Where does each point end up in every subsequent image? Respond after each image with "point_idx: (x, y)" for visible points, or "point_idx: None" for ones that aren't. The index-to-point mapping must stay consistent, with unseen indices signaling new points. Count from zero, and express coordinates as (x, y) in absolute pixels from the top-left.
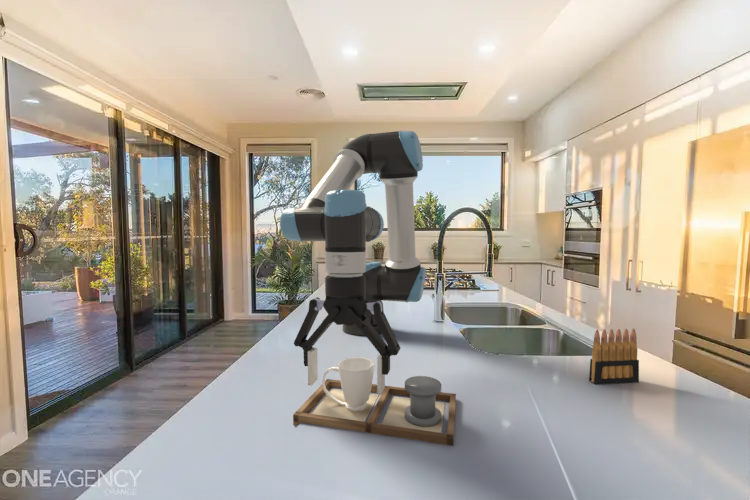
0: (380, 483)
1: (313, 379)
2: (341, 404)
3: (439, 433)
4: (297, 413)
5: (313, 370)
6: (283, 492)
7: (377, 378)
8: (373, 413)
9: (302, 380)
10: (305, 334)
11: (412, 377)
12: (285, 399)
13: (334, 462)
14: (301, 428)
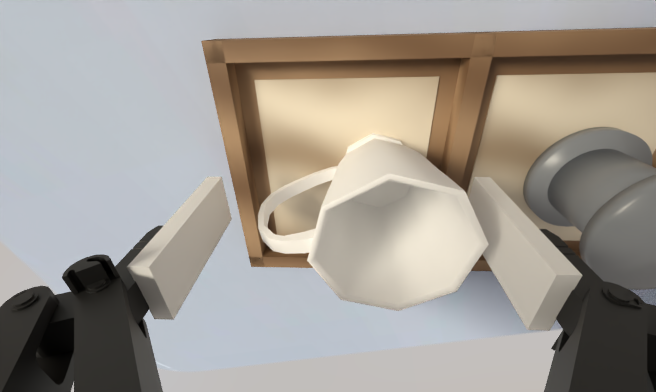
0: (459, 330)
1: (223, 215)
2: (332, 177)
3: None
4: (257, 261)
5: (209, 234)
6: (337, 354)
7: (484, 257)
8: None
9: (82, 3)
10: (52, 390)
11: (647, 200)
12: (154, 161)
13: (382, 311)
14: None
